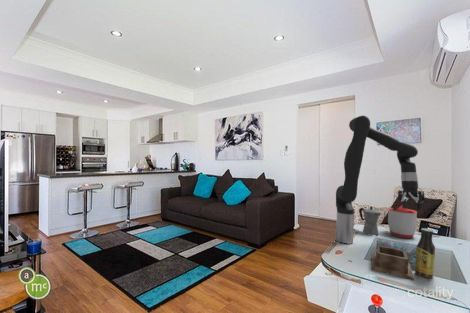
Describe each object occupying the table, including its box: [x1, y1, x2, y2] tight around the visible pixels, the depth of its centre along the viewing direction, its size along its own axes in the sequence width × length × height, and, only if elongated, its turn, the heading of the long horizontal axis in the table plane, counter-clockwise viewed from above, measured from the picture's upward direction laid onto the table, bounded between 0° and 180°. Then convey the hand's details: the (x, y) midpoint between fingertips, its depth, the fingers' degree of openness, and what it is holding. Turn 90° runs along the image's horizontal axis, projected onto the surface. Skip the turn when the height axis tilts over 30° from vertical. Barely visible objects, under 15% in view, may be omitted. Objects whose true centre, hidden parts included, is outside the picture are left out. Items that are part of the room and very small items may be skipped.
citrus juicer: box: [387, 204, 418, 239], centre depth 152 cm, size 16×17×20 cm
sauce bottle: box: [414, 228, 436, 279], centre depth 99 cm, size 7×6×20 cm
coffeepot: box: [358, 206, 382, 236], centre depth 155 cm, size 15×9×18 cm, turn 25°
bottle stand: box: [371, 244, 415, 281], centre depth 105 cm, size 15×16×7 cm
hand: (411, 209), depth 130 cm, fingers open, 8 cm apart
